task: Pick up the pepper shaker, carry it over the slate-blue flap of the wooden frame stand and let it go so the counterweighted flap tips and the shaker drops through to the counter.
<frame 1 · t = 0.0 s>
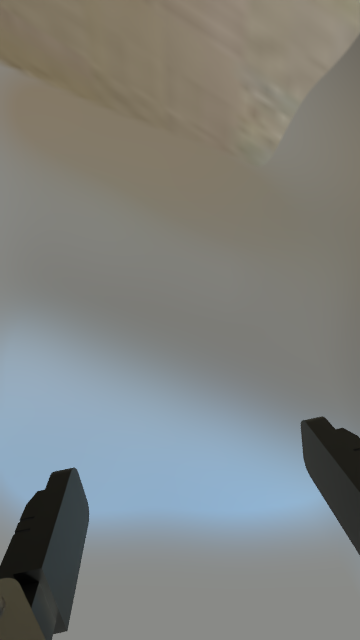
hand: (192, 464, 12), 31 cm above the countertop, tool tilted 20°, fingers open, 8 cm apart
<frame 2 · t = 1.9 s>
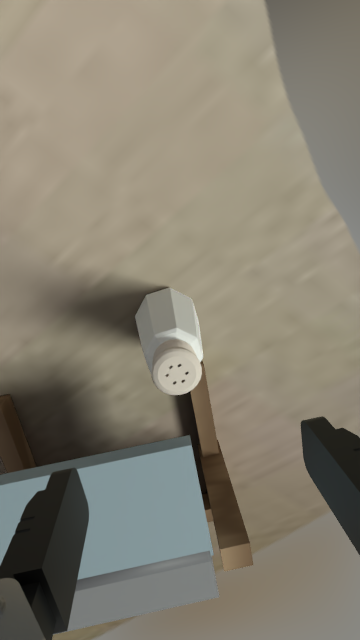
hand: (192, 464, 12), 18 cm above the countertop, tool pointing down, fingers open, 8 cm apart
pepper shaker: (166, 317, 29), on the countertop
wooden frame stand: (123, 468, 33), on the countertop
trapdoor: (108, 510, 25), point 7 cm above the countertop, hinge at 0.0°
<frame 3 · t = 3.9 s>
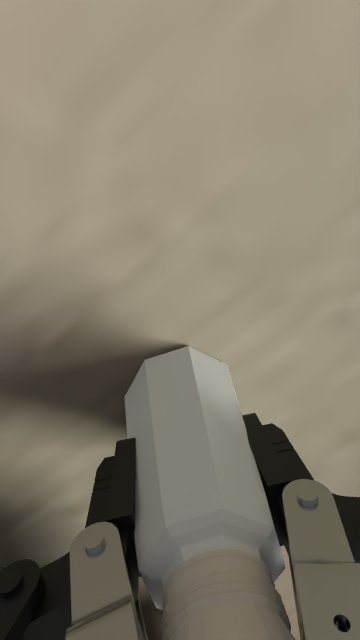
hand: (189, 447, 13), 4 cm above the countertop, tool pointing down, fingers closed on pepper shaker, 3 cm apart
pepper shaker: (181, 395, 17), on the countertop, touching gripper
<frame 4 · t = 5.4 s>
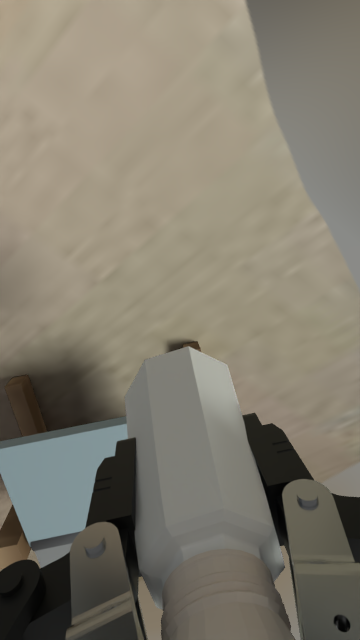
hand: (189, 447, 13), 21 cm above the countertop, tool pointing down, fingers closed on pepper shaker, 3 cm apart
pepper shaker: (181, 395, 17), point 17 cm above the countertop, touching gripper
wooden frame stand: (127, 443, 37), on the countertop
trapdoor: (115, 473, 29), point 7 cm above the countertop, hinge at 0.0°
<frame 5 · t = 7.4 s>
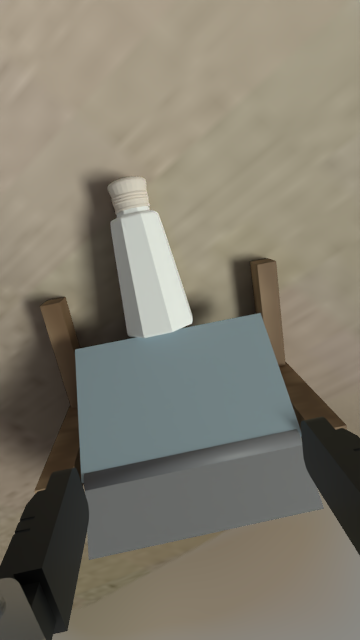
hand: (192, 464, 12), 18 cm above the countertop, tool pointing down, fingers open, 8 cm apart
pepper shaker: (162, 329, 27), point 3 cm above the countertop, touching trapdoor
wooden frame stand: (179, 386, 31), on the countertop
trapdoor: (187, 427, 25), point 6 cm above the countertop, hinge at -44.6°, touching pepper shaker
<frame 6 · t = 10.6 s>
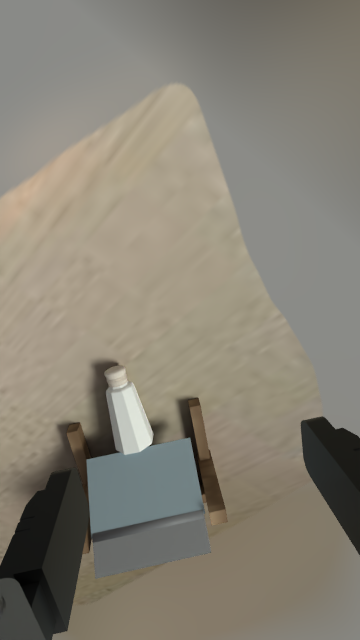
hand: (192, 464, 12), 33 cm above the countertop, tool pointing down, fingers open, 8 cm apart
pepper shaker: (135, 444, 47), point 3 cm above the countertop, touching trapdoor
wooden frame stand: (148, 468, 51), on the countertop
trapdoor: (149, 502, 45), point 6 cm above the countertop, hinge at -44.6°, touching pepper shaker
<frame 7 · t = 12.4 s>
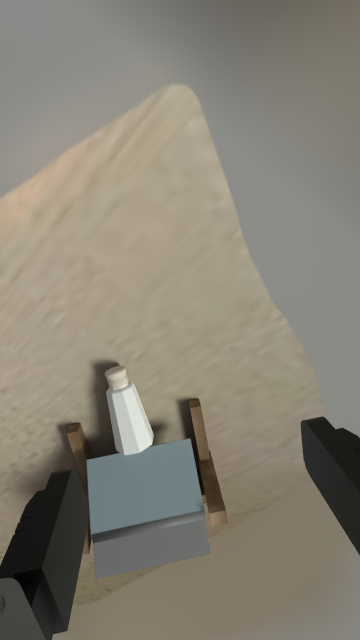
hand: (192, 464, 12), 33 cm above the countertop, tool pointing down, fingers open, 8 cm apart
pepper shaker: (135, 444, 47), point 3 cm above the countertop, touching trapdoor
wooden frame stand: (148, 469, 51), on the countertop
trapdoor: (149, 503, 45), point 6 cm above the countertop, hinge at -44.6°, touching pepper shaker
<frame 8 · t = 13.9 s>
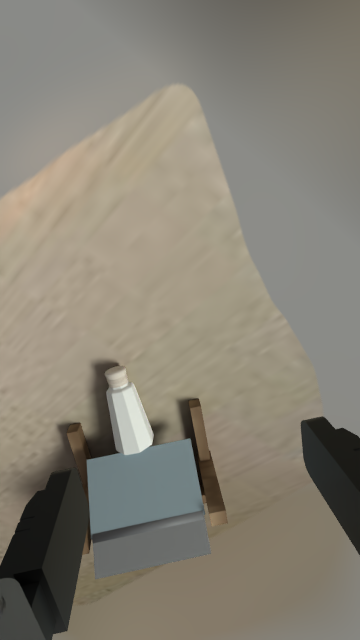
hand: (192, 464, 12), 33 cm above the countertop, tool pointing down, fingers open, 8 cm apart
pepper shaker: (135, 444, 47), point 3 cm above the countertop, touching trapdoor
wooden frame stand: (148, 469, 51), on the countertop
trapdoor: (149, 503, 45), point 6 cm above the countertop, hinge at -44.6°, touching pepper shaker
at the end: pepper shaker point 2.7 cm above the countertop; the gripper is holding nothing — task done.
